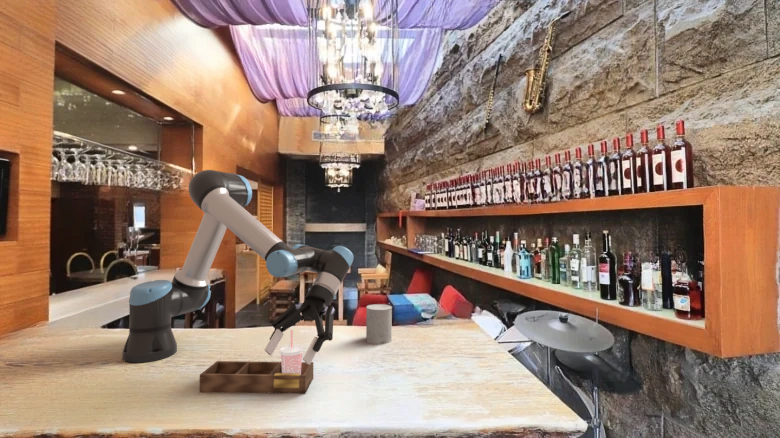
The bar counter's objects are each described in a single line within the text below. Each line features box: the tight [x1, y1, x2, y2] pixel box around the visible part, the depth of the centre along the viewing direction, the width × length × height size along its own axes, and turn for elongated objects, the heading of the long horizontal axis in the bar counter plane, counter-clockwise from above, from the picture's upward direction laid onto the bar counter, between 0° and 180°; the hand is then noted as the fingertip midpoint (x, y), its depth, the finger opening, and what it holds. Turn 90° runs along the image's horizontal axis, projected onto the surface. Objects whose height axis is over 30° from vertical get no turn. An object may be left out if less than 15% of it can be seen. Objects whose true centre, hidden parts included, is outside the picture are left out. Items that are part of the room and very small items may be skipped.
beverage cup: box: [279, 329, 304, 375], centre depth 103 cm, size 6×6×14 cm
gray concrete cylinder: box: [365, 303, 393, 345], centre depth 143 cm, size 10×10×12 cm
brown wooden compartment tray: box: [199, 360, 314, 395], centre depth 103 cm, size 27×10×5 cm, turn 89°
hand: (286, 357), depth 101 cm, fingers open, 13 cm apart
